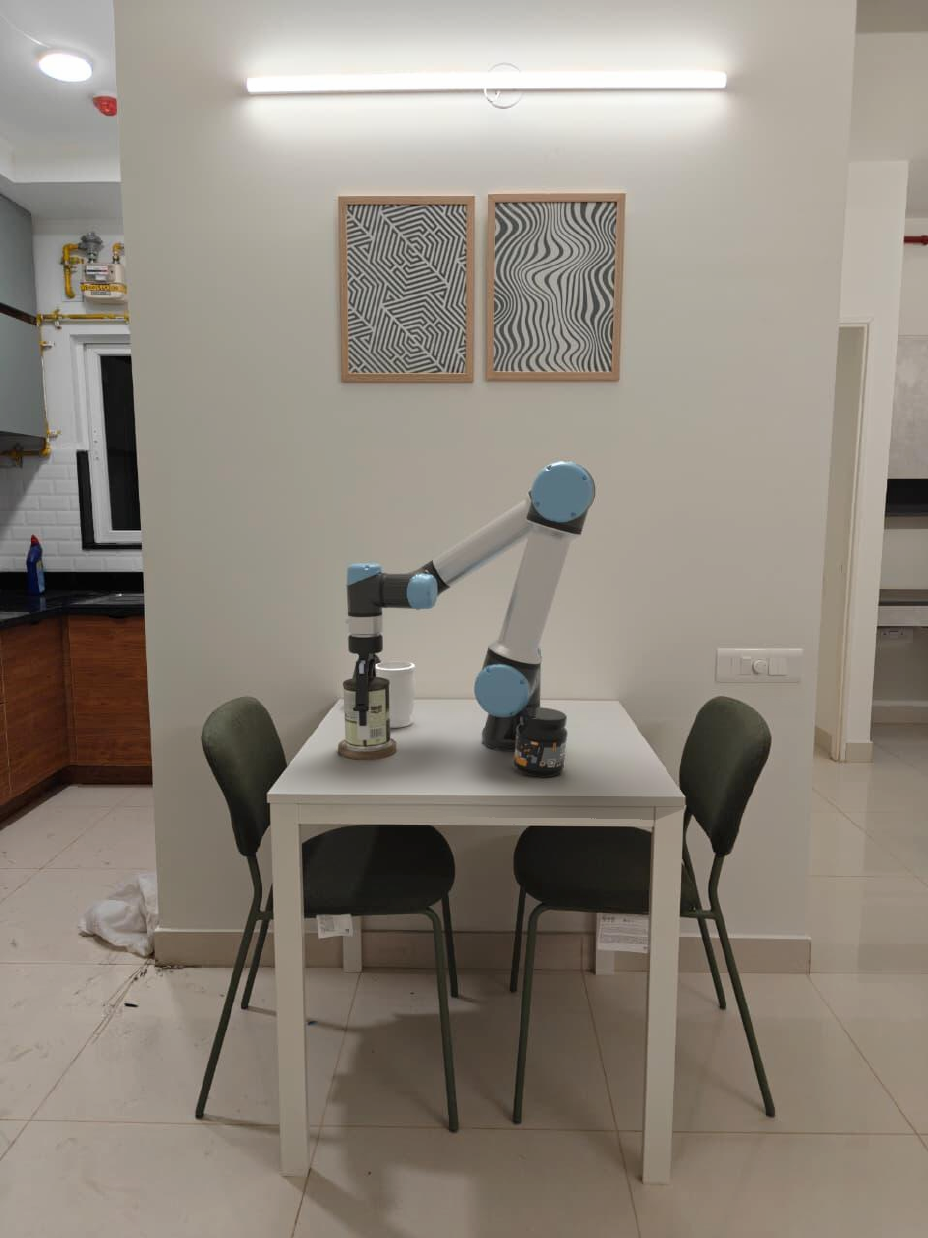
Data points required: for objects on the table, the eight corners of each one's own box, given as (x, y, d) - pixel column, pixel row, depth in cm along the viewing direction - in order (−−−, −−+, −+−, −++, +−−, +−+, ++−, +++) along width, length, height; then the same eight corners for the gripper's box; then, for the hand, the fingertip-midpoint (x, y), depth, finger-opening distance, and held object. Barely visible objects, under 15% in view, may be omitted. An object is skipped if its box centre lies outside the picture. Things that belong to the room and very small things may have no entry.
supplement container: (507, 759, 174) (512, 705, 172) (555, 760, 175) (561, 706, 173) (519, 778, 163) (524, 720, 161) (569, 778, 165) (576, 721, 163)
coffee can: (364, 733, 190) (362, 674, 188) (399, 740, 185) (398, 679, 182) (334, 745, 181) (332, 683, 179) (371, 752, 176) (369, 688, 174)
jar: (414, 730, 199) (413, 669, 197) (371, 729, 199) (370, 669, 197) (417, 718, 210) (416, 660, 207) (377, 718, 210) (376, 660, 208)
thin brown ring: (408, 751, 182) (407, 744, 182) (358, 763, 174) (357, 756, 174) (376, 738, 192) (376, 731, 192) (327, 749, 184) (327, 741, 184)
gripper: (356, 625, 191) (358, 718, 194) (339, 643, 168) (341, 747, 171) (388, 626, 190) (390, 718, 194) (375, 643, 168) (377, 747, 171)
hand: (367, 732), depth 183 cm, fingers closed on coffee can, 10 cm apart
